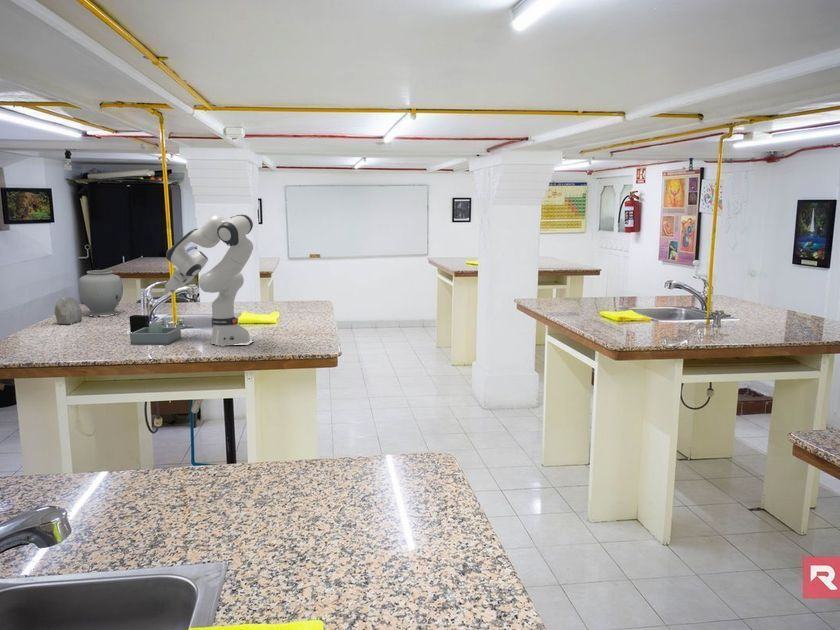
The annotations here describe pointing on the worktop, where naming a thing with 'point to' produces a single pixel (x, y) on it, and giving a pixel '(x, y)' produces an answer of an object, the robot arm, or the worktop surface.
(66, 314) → the decorative stone
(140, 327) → the electronic device
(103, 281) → the grey ceramic vase
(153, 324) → the pale green block
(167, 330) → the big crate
